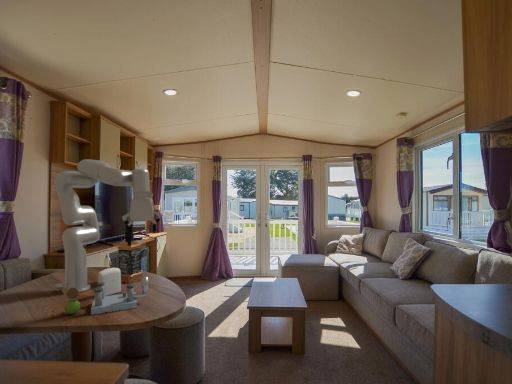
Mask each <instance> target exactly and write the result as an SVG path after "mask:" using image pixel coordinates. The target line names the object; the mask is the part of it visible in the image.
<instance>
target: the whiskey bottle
mask: <svg viewBox="0 0 512 384" xmlns="http://www.w3.org/2000/svg"><path fill="white" fill-rule="evenodd" d="M124 224H125V228H124V229H125V233H124V241H122V242H121V243H119V244H118V245H117V251H118V252H117V253H118V256H117V259H118V260H117V261H118V262H117V264H118V267H117V268H119V269H120V271H121V283H125V284H132V283H135V282H138V281H142V277H143V271H142V261H141V248H142V244H141V243H140V242H137V241H135V240H134V239H135V238H134V233H133V234H132V235H130V233H129V226H128V225H127V224H126V223H124ZM133 224H134V223H133ZM133 224H132V226H133ZM133 227H134V226H133Z"/></svg>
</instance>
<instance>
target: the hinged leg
mask: <svg viewBox="0 0 512 384" xmlns="http://www.w3.org/2000/svg"><path fill="white" fill-rule="evenodd" d="M148 294H149V276H142V279H141V292H139V293H136V294H134V298H137V299H138V298H141V297H143V298H144V297H146V296H147V295H148Z"/></svg>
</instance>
